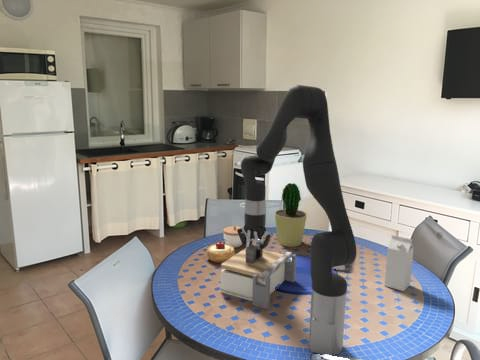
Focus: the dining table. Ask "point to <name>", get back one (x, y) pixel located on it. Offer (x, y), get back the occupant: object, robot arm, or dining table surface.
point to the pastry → (220, 252)
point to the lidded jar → (232, 236)
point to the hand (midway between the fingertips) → (254, 257)
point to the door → (256, 262)
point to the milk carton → (399, 263)
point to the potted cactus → (290, 218)
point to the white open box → (257, 283)
